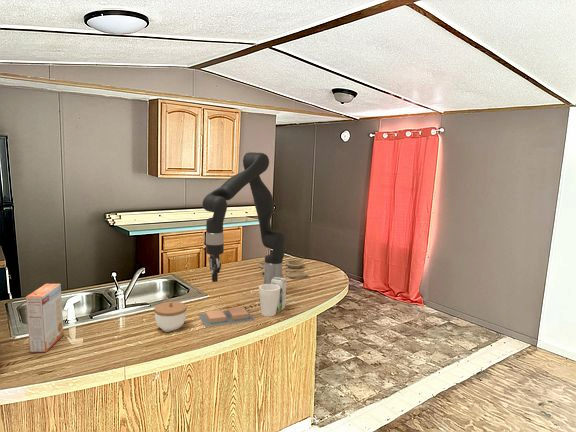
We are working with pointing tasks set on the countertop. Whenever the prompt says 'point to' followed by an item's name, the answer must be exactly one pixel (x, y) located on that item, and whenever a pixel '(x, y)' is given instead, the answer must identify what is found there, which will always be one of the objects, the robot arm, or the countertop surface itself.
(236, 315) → the tile
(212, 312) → the tile
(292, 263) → the tableware set
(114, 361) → the countertop surface
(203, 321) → the mat
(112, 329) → the countertop surface
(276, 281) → the syrup box
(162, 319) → the lidded bowl
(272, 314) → the foam cup
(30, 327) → the cracker box
